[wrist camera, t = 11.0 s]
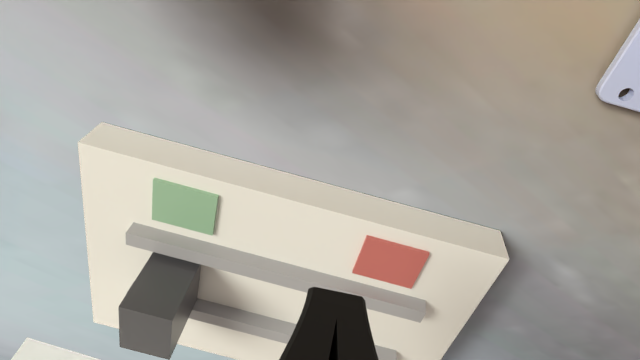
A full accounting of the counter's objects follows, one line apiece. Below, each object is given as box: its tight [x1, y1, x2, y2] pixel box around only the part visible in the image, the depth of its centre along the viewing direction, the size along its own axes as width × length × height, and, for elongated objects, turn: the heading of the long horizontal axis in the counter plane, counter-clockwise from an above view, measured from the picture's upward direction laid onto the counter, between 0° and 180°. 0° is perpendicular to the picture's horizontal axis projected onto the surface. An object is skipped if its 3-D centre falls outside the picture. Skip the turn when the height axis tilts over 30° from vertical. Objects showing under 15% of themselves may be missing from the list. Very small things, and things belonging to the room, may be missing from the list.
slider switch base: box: [78, 122, 509, 360], centre depth 24 cm, size 20×13×3 cm, turn 76°
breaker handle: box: [118, 252, 201, 360], centre depth 22 cm, size 2×3×4 cm
